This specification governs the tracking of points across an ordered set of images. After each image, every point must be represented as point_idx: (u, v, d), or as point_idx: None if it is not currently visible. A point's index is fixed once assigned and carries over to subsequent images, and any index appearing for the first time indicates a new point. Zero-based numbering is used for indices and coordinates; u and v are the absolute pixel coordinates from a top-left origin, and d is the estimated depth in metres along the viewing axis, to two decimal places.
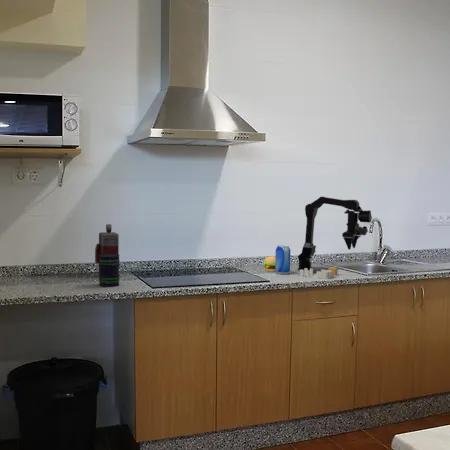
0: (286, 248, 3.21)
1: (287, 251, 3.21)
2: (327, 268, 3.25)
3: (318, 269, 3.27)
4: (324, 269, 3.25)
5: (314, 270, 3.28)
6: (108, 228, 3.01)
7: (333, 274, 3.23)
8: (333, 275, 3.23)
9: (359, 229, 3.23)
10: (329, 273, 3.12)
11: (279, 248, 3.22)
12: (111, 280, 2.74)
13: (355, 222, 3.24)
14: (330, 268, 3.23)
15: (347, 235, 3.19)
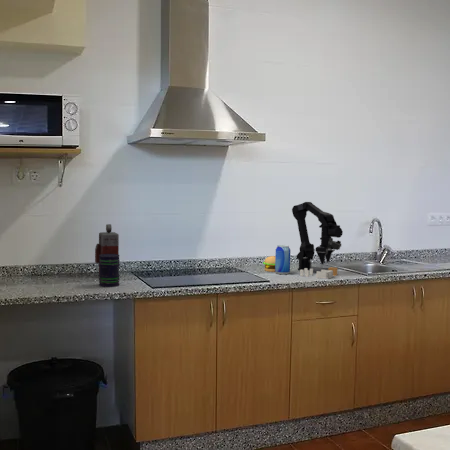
0: (286, 248, 3.21)
1: (287, 251, 3.21)
2: (327, 268, 3.26)
3: (318, 269, 3.27)
4: (324, 269, 3.26)
5: (314, 270, 3.28)
6: (108, 228, 3.01)
7: (333, 274, 3.23)
8: (333, 275, 3.23)
9: (332, 244, 3.21)
10: (329, 273, 3.12)
11: (279, 248, 3.22)
12: (111, 280, 2.74)
13: (328, 236, 3.23)
14: (330, 268, 3.23)
15: (320, 250, 3.18)
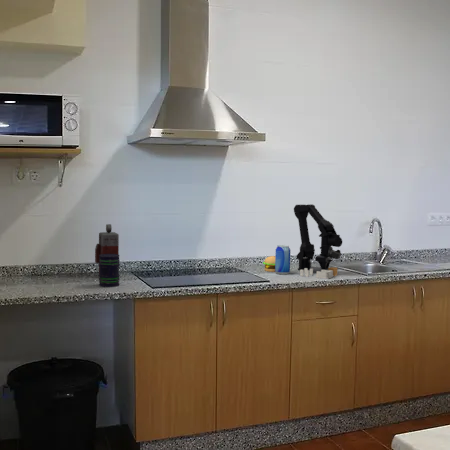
0: (286, 248, 3.21)
1: (287, 251, 3.21)
2: (327, 268, 3.26)
3: (318, 269, 3.27)
4: None
5: (314, 270, 3.28)
6: (108, 228, 3.01)
7: (333, 274, 3.23)
8: None
9: (332, 253, 3.22)
10: (329, 273, 3.12)
11: (279, 248, 3.22)
12: (111, 280, 2.74)
13: (328, 246, 3.23)
14: (330, 268, 3.23)
15: (320, 259, 3.18)
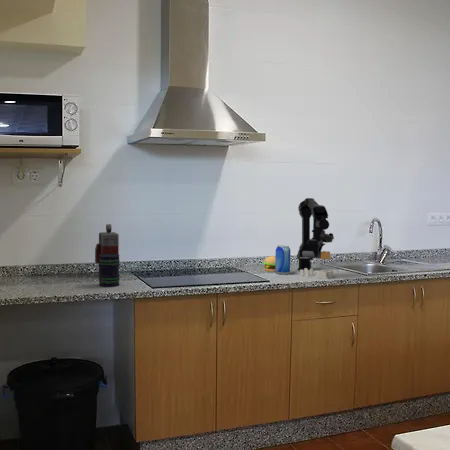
0: (286, 248, 3.21)
1: (287, 251, 3.21)
2: (320, 252, 3.16)
3: (310, 253, 3.18)
4: None
5: (306, 254, 3.19)
6: (108, 228, 3.01)
7: (326, 258, 3.13)
8: None
9: (325, 236, 3.12)
10: (329, 273, 3.12)
11: (279, 248, 3.22)
12: (111, 280, 2.74)
13: (321, 229, 3.14)
14: (323, 252, 3.14)
15: (312, 242, 3.09)
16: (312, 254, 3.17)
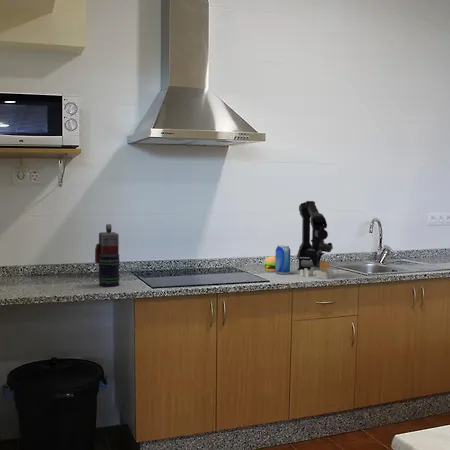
0: (286, 248, 3.21)
1: (287, 251, 3.21)
2: (318, 261, 3.16)
3: (309, 262, 3.18)
4: None
5: (305, 263, 3.19)
6: (108, 228, 3.01)
7: (324, 268, 3.13)
8: None
9: (323, 246, 3.12)
10: (329, 273, 3.12)
11: (279, 248, 3.22)
12: (111, 280, 2.74)
13: (319, 239, 3.14)
14: (321, 261, 3.14)
15: (311, 252, 3.09)
16: (311, 263, 3.17)
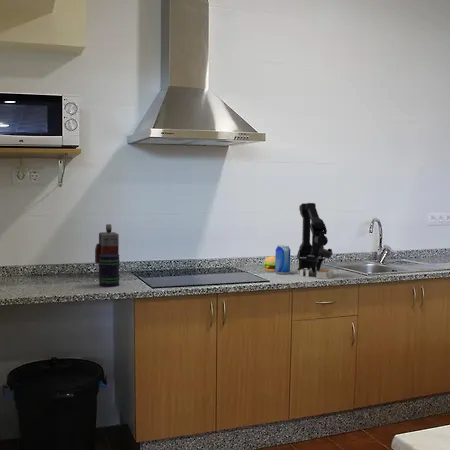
0: (286, 248, 3.21)
1: (287, 251, 3.21)
2: (318, 270, 3.17)
3: (309, 271, 3.18)
4: (315, 271, 3.17)
5: (305, 272, 3.19)
6: (108, 228, 3.01)
7: None
8: None
9: (323, 252, 3.13)
10: (329, 273, 3.12)
11: (279, 248, 3.22)
12: (111, 280, 2.74)
13: (319, 244, 3.14)
14: (321, 270, 3.14)
15: (310, 258, 3.09)
16: (311, 272, 3.18)
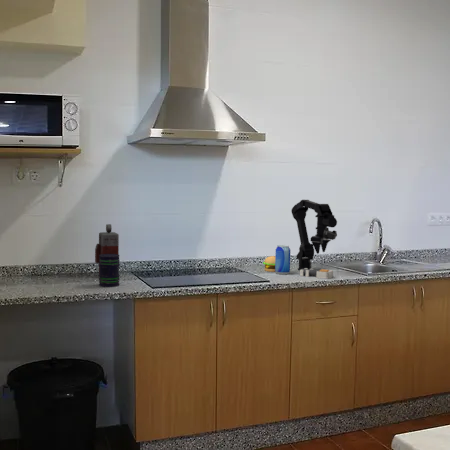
0: (286, 248, 3.21)
1: (287, 251, 3.21)
2: (318, 270, 3.17)
3: (309, 271, 3.18)
4: (315, 271, 3.17)
5: (305, 272, 3.19)
6: (108, 228, 3.01)
7: None
8: None
9: (328, 233, 3.21)
10: (329, 273, 3.12)
11: (279, 248, 3.22)
12: (111, 280, 2.74)
13: (324, 226, 3.23)
14: (321, 270, 3.14)
15: (315, 239, 3.18)
16: (311, 272, 3.18)
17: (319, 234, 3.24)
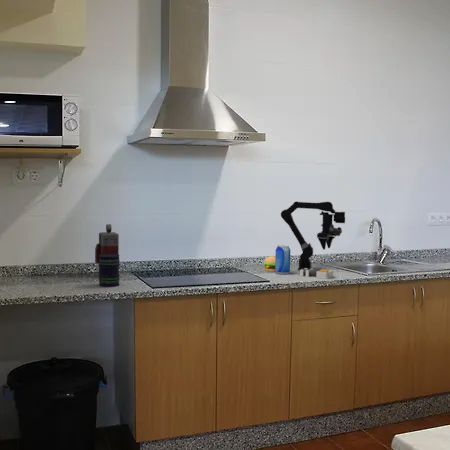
0: (286, 248, 3.21)
1: (287, 251, 3.21)
2: (318, 270, 3.17)
3: (309, 271, 3.18)
4: (315, 271, 3.17)
5: (305, 272, 3.19)
6: (108, 228, 3.01)
7: None
8: None
9: (333, 230, 3.34)
10: (329, 273, 3.12)
11: (279, 248, 3.22)
12: (111, 280, 2.74)
13: (329, 223, 3.36)
14: (321, 270, 3.14)
15: (321, 236, 3.31)
16: (311, 272, 3.18)
17: (325, 231, 3.36)
